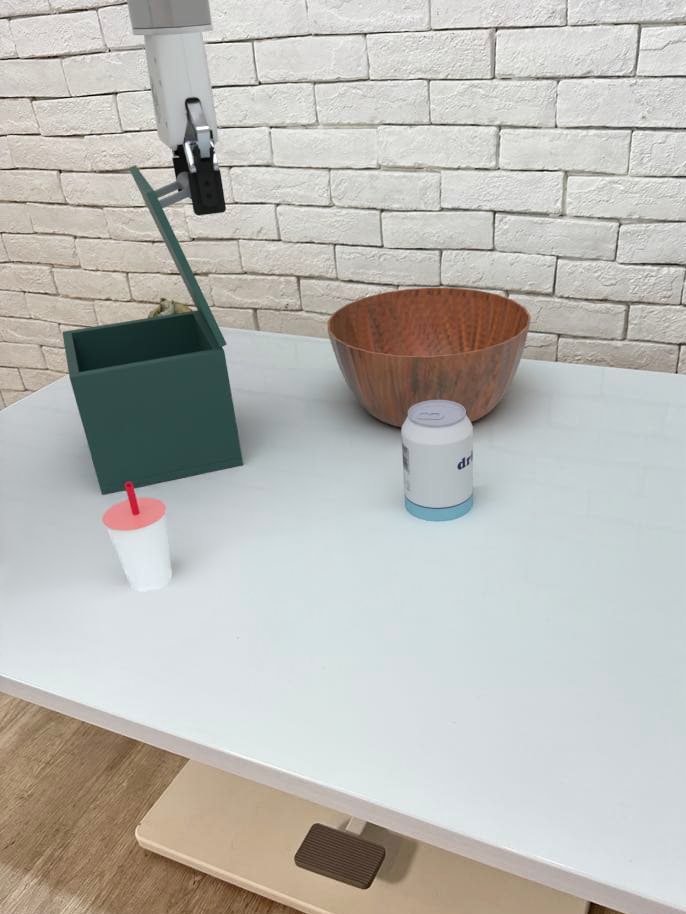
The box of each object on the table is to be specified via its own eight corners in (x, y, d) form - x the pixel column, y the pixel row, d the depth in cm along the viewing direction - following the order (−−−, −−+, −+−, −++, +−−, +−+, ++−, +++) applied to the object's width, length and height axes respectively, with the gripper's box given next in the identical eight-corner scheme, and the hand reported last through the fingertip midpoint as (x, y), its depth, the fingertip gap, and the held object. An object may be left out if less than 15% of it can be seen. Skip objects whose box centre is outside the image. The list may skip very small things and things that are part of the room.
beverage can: (466, 540, 84) (465, 430, 78) (398, 533, 86) (392, 425, 79) (477, 504, 90) (478, 399, 83) (414, 498, 91) (409, 394, 85)
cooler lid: (145, 193, 81) (199, 169, 82) (128, 167, 93) (175, 147, 94) (220, 347, 91) (267, 326, 92) (196, 307, 103) (238, 288, 104)
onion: (212, 344, 133) (203, 293, 129) (166, 358, 129) (155, 306, 124) (186, 333, 138) (177, 283, 133) (142, 346, 133) (130, 296, 129)
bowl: (427, 470, 96) (424, 375, 90) (296, 407, 112) (286, 322, 106) (567, 402, 110) (573, 315, 104) (433, 353, 126) (431, 276, 119)
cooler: (102, 495, 95) (69, 377, 87) (91, 439, 107) (62, 331, 99) (243, 464, 99) (224, 350, 92) (218, 415, 111) (199, 309, 103)
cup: (185, 607, 77) (158, 492, 70) (124, 617, 76) (91, 503, 70) (184, 573, 81) (158, 463, 75) (126, 583, 81) (95, 472, 74)
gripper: (120, 15, 87) (155, 193, 96) (141, 19, 73) (179, 226, 83) (194, 11, 89) (221, 185, 98) (227, 14, 75) (255, 216, 85)
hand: (201, 204), depth 90 cm, fingers open, 9 cm apart
